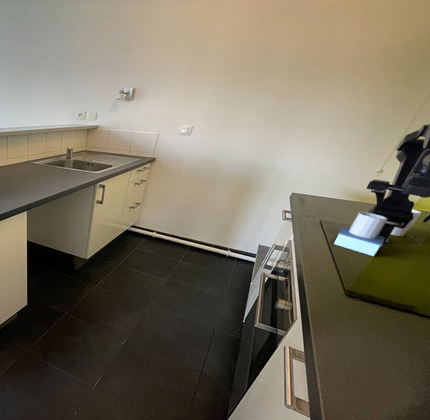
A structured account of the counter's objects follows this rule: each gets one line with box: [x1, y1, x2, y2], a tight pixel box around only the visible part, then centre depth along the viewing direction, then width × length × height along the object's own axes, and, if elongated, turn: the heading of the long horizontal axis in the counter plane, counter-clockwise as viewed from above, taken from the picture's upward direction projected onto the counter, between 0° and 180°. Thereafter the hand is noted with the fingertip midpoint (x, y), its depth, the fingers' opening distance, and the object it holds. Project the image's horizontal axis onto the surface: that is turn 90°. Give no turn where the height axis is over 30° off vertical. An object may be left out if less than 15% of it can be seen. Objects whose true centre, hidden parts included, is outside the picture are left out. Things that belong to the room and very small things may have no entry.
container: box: [333, 226, 385, 257], centre depth 83 cm, size 9×9×5 cm
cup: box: [349, 211, 388, 239], centre depth 81 cm, size 6×6×7 cm
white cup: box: [390, 208, 422, 237], centre depth 95 cm, size 8×8×10 cm
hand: (399, 217), depth 78 cm, fingers open, 9 cm apart
